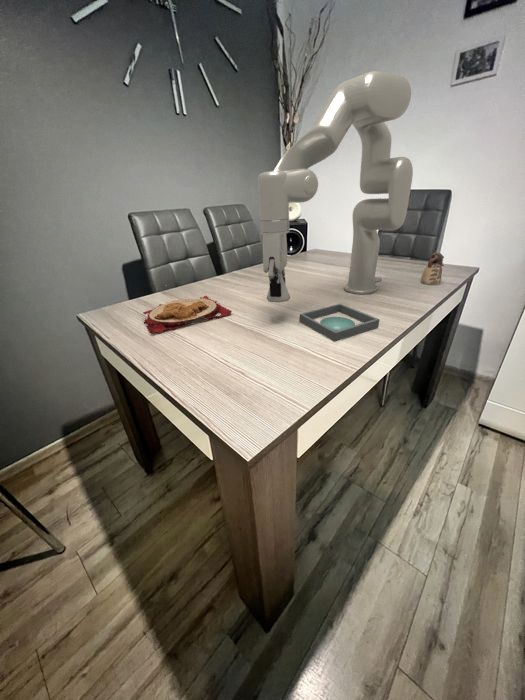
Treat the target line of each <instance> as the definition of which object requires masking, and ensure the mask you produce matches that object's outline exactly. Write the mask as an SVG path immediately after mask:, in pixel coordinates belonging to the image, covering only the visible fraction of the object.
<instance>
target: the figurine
mask: <svg viewBox="0 0 525 700" xmlns="http://www.w3.org/2000/svg"><path fill="white" fill-rule="evenodd" d="M431 256H432V257H431V258H429V260H428V263H427V265H426V267H425V268H424V270H423V272H422V275H421V278H420V282H422V283H421V284H423V283H424V284H423V285H426V284H430V285H429V286H438V285H437V284H439V285H440V284H441V281H442V276H443V275H442V272H443V268H442V267H444V265H445V264H444V262H443V261H444V258H445V256H444V255H443V254H442V253H441V252H433V253H431Z"/></svg>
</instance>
